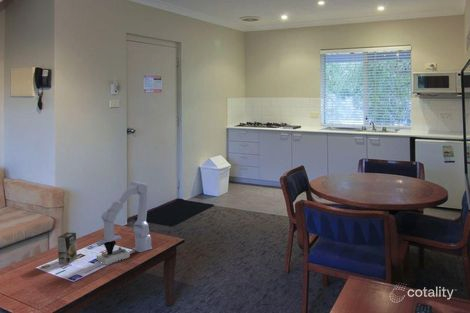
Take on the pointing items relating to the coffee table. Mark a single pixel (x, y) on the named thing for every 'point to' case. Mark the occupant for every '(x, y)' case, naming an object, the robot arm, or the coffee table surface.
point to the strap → (113, 252)
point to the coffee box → (67, 248)
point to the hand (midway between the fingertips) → (109, 253)
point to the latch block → (113, 256)
